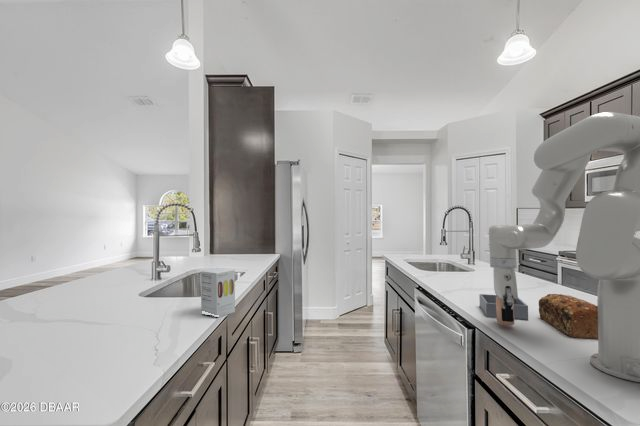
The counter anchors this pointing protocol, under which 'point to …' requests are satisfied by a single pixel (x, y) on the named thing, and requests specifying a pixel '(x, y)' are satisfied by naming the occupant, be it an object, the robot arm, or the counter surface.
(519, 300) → the bin
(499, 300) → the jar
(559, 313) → the bread
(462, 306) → the counter surface
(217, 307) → the supplement box
